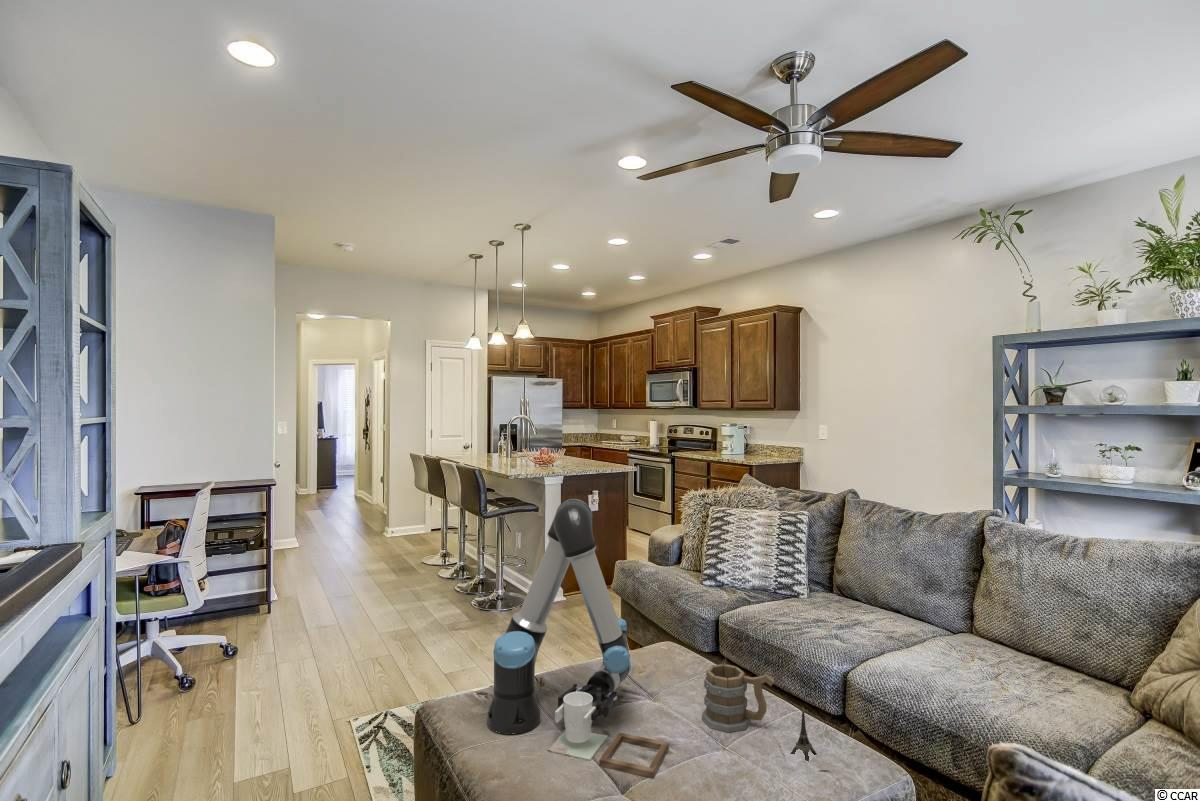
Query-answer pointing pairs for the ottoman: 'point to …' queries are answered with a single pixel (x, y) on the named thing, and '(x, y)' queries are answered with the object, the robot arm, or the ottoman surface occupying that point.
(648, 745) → the walnut collar
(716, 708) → the tankard
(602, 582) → the robot arm
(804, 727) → the eiffel tower figurine
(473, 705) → the ottoman surface
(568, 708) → the white cup
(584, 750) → the sage tile
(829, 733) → the ottoman surface
